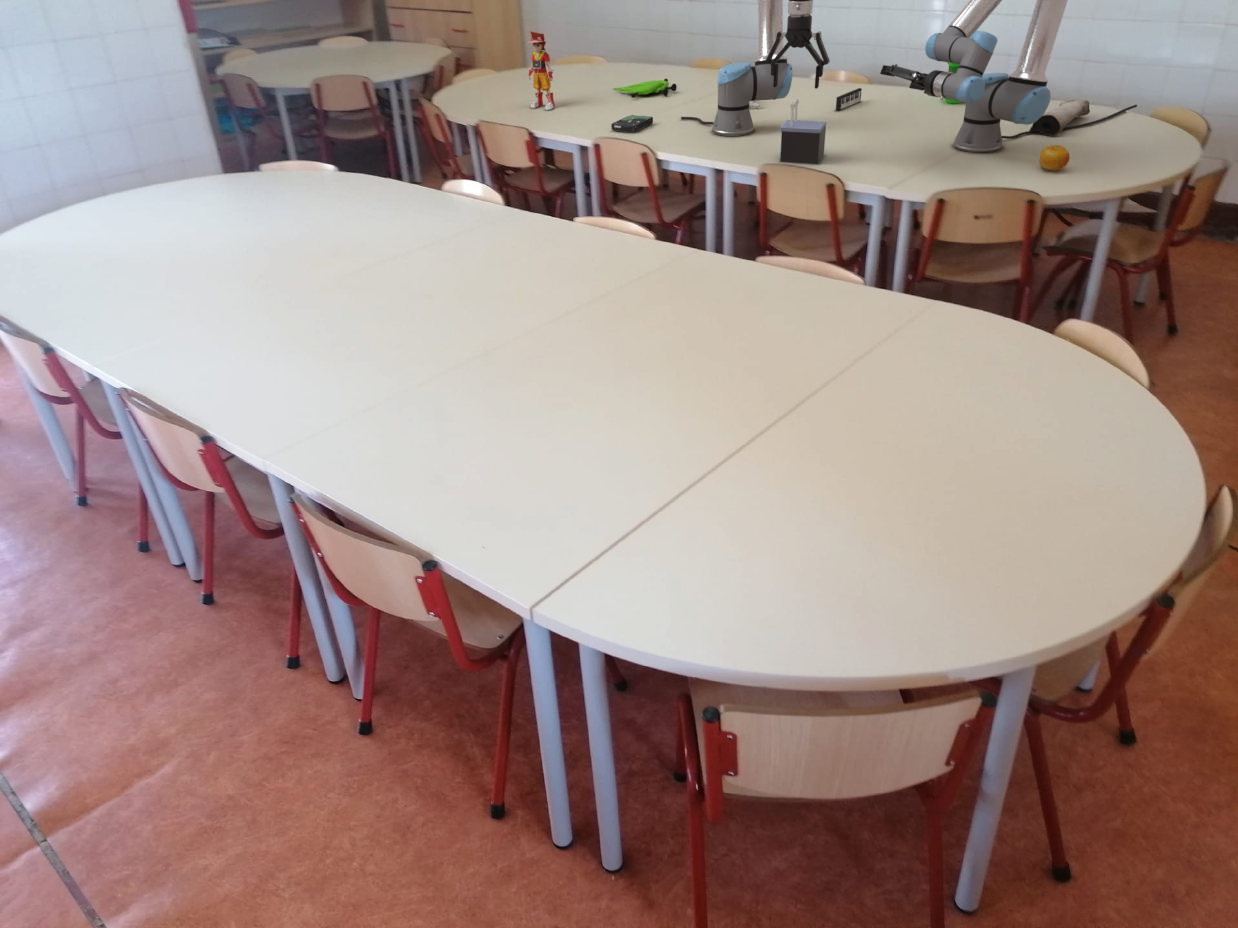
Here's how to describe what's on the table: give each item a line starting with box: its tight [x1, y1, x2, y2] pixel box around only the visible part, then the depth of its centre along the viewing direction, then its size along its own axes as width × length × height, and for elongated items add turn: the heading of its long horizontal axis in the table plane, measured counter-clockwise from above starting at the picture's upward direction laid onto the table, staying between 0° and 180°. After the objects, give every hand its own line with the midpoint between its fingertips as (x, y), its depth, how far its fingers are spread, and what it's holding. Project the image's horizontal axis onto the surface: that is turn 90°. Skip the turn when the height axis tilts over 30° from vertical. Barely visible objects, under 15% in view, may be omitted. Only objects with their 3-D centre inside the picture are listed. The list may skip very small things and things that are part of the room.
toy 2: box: [612, 78, 677, 99], centre depth 396 cm, size 28×5×30 cm
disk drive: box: [610, 114, 654, 133], centre depth 348 cm, size 10×3×15 cm
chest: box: [779, 125, 827, 165], centre depth 301 cm, size 13×10×10 cm
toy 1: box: [527, 31, 556, 111], centre depth 374 cm, size 12×9×30 cm
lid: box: [779, 98, 827, 133], centre depth 296 cm, size 13×10×8 cm
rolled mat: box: [1028, 99, 1091, 137], centre depth 319 cm, size 30×9×10 cm
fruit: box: [1038, 144, 1071, 172], centre depth 279 cm, size 8×8×8 cm
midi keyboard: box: [835, 87, 863, 112], centre depth 357 cm, size 18×1×5 cm, turn 138°
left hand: (795, 87), depth 292 cm, fingers open, 13 cm apart
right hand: (897, 77), depth 295 cm, fingers open, 13 cm apart
